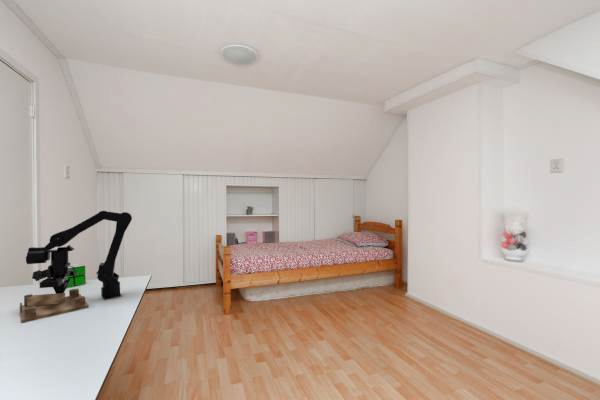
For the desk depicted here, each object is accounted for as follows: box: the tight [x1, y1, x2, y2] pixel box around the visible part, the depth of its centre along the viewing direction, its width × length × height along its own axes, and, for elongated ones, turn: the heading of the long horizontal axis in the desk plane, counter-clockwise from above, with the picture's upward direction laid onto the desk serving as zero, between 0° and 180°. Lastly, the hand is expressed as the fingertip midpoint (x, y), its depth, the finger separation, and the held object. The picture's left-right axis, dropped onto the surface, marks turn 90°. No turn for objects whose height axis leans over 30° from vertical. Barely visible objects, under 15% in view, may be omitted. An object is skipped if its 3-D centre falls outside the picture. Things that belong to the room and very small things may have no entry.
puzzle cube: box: [66, 263, 87, 289], centre depth 151 cm, size 10×10×10 cm
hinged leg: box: [23, 292, 66, 306], centre depth 119 cm, size 14×3×4 cm, turn 102°
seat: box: [19, 288, 90, 324], centre depth 118 cm, size 20×20×4 cm
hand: (59, 298), depth 123 cm, fingers closed
